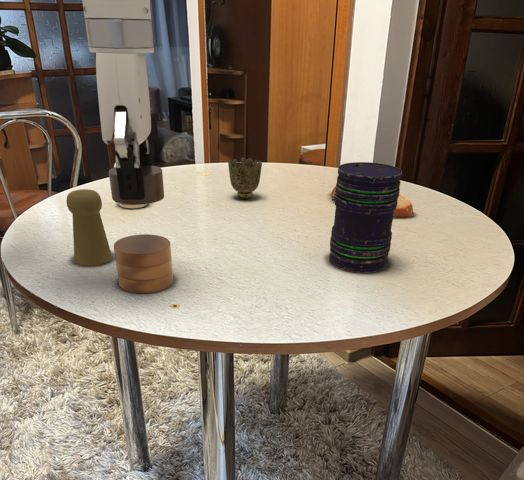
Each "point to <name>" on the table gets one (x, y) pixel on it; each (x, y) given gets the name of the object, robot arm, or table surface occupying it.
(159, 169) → the walnut chip
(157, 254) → the pile chip
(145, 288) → the pile chip
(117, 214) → the table surface
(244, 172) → the cup
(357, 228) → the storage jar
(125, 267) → the pile chip
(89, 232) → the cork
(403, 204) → the bread slice
